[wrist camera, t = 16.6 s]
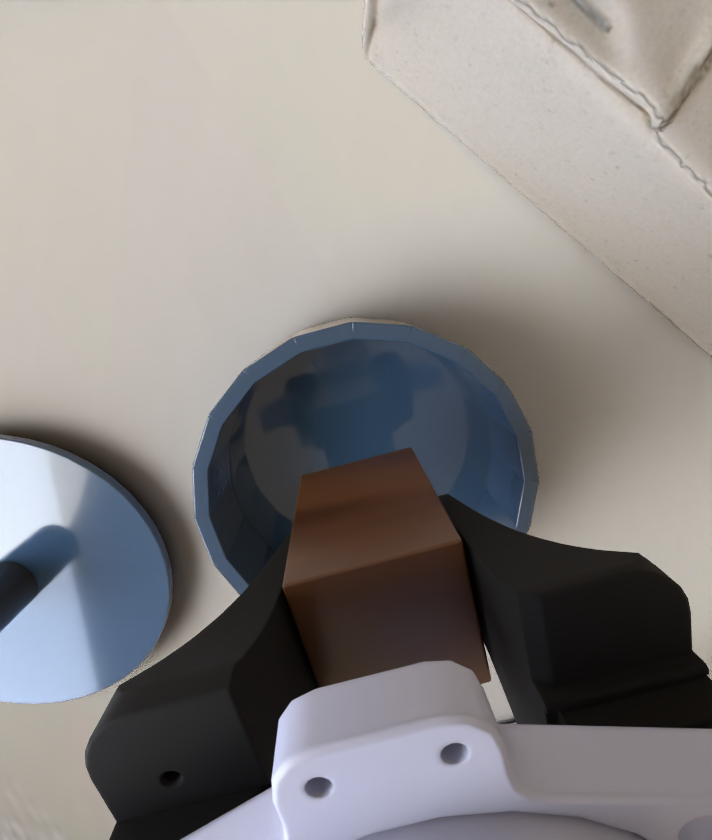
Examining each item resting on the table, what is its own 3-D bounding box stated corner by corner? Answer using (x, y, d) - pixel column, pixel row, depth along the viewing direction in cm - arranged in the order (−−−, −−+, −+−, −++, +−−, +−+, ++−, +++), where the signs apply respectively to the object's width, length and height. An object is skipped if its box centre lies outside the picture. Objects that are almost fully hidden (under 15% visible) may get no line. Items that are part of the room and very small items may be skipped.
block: (434, 543, 16) (492, 683, 10) (330, 570, 16) (330, 722, 10) (411, 446, 15) (462, 539, 9) (300, 475, 15) (280, 586, 9)
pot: (517, 545, 22) (556, 596, 18) (269, 609, 22) (256, 672, 18) (473, 283, 18) (510, 279, 14) (176, 362, 18) (136, 378, 15)
